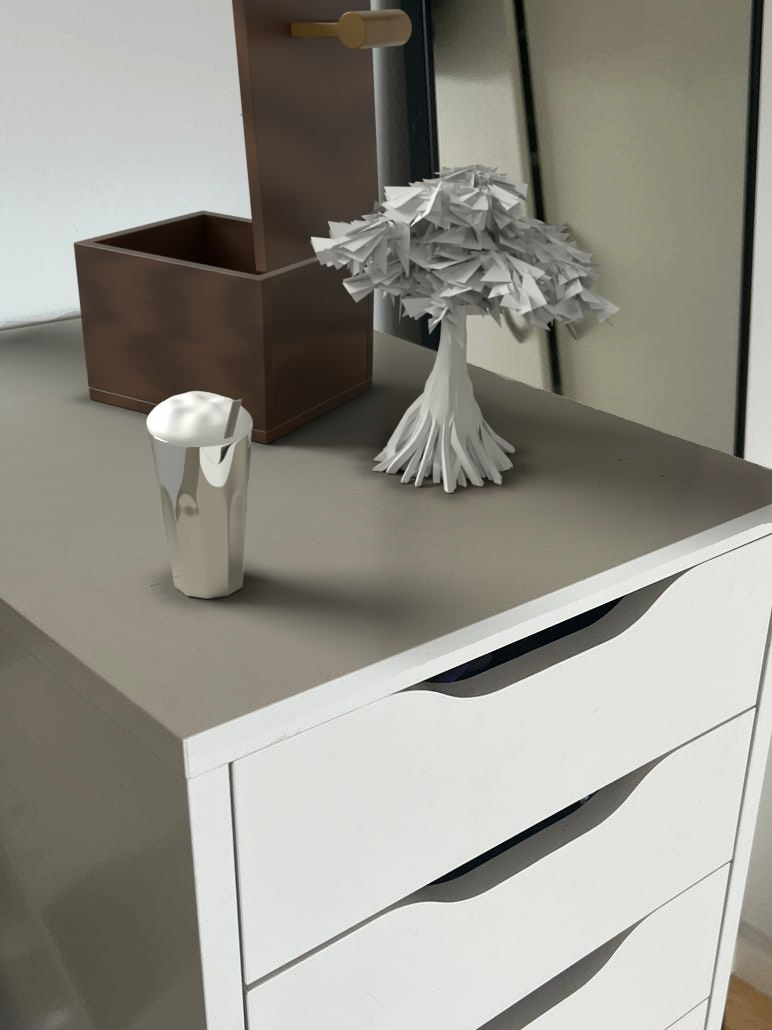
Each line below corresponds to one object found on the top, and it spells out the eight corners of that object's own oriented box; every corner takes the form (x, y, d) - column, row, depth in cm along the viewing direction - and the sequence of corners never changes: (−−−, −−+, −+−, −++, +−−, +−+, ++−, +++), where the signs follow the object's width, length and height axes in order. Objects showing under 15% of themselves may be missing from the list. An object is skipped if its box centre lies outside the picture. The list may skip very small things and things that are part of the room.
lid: (228, -23, 61) (323, -24, 59) (358, -24, 71) (443, -25, 69) (255, 271, 68) (341, 280, 66) (370, 233, 78) (447, 240, 76)
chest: (89, 399, 78) (73, 242, 73) (209, 350, 88) (202, 210, 83) (266, 444, 73) (261, 280, 68) (372, 388, 83) (375, 241, 78)
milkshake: (202, 623, 55) (189, 410, 50) (142, 577, 58) (124, 373, 53) (286, 594, 57) (282, 390, 52) (224, 553, 61) (215, 356, 56)
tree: (612, 525, 66) (652, 209, 58) (317, 528, 64) (315, 198, 55) (546, 409, 82) (570, 146, 73) (306, 408, 79) (303, 135, 71)
